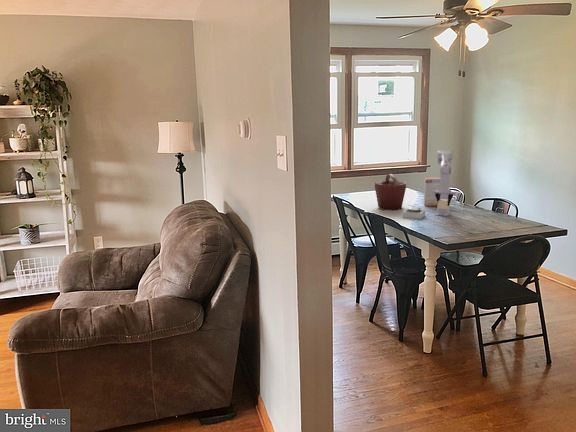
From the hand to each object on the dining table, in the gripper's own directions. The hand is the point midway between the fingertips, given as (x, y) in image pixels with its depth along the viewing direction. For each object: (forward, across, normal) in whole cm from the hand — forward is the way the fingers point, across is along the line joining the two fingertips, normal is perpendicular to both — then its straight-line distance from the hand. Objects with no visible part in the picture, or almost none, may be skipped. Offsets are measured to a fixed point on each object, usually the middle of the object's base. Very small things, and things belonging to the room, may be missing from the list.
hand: (443, 205), depth 308 cm
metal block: (+9, -19, 0) cm, 21 cm away
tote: (+9, -19, +1) cm, 21 cm away
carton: (+1, 0, 0) cm, 1 cm away
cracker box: (+10, -16, +44) cm, 48 cm away
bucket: (+10, -44, +23) cm, 50 cm away
